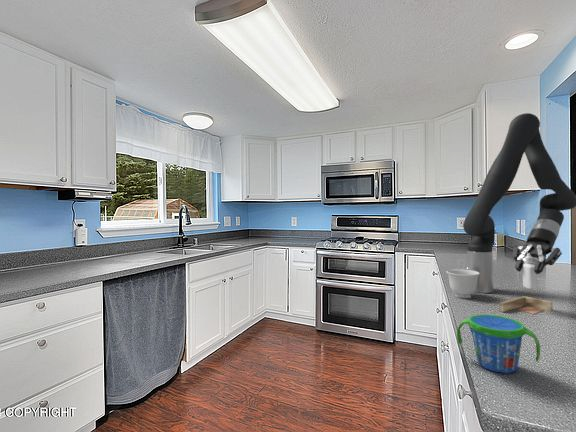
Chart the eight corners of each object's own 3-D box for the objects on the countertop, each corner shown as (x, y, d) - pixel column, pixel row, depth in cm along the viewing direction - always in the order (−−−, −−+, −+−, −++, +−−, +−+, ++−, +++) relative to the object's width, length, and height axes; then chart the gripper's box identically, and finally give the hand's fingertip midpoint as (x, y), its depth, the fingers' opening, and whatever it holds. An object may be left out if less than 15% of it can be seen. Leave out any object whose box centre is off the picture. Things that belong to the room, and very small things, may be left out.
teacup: (467, 290, 132) (467, 267, 132) (486, 300, 117) (486, 274, 117) (439, 290, 133) (438, 268, 133) (454, 300, 119) (453, 275, 118)
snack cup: (451, 362, 71) (450, 319, 71) (466, 347, 78) (465, 308, 78) (536, 389, 60) (535, 338, 59) (544, 369, 67) (543, 324, 67)
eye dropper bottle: (539, 286, 105) (537, 252, 105) (537, 290, 101) (535, 254, 101) (523, 285, 108) (522, 251, 108) (521, 288, 104) (519, 253, 104)
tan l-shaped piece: (499, 311, 105) (499, 302, 105) (523, 304, 112) (523, 296, 112) (528, 319, 97) (528, 309, 97) (552, 310, 104) (552, 301, 104)
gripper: (516, 227, 114) (499, 261, 109) (564, 227, 102) (548, 267, 96) (525, 240, 117) (508, 274, 111) (572, 242, 104) (557, 281, 99)
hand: (527, 271), depth 104 cm, fingers closed on eye dropper bottle, 5 cm apart
